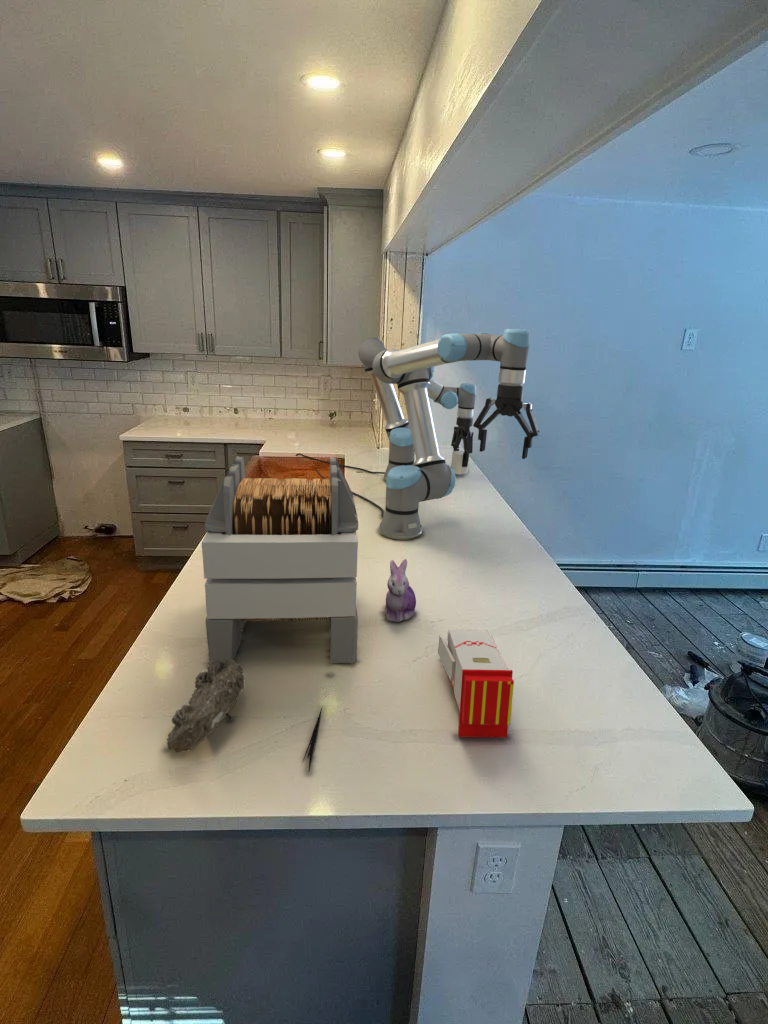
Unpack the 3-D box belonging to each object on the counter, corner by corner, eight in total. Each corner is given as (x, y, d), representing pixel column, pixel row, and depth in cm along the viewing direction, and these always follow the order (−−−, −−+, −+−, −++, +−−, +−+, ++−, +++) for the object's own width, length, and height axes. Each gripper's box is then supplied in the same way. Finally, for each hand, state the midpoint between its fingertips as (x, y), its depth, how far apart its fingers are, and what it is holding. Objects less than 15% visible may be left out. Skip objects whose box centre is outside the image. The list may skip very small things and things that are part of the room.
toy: (488, 613, 130) (523, 677, 101) (484, 667, 133) (517, 744, 104) (435, 612, 130) (455, 676, 101) (432, 666, 133) (451, 743, 103)
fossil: (192, 660, 117) (244, 628, 112) (224, 691, 120) (276, 661, 115) (142, 746, 98) (202, 712, 93) (182, 779, 101) (242, 748, 96)
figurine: (392, 627, 141) (395, 572, 136) (374, 608, 149) (376, 556, 144) (425, 619, 145) (429, 566, 140) (405, 601, 154) (408, 550, 149)
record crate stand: (229, 593, 154) (221, 446, 140) (349, 591, 157) (353, 448, 144) (206, 668, 122) (192, 488, 108) (357, 664, 126) (363, 489, 112)
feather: (331, 679, 122) (336, 673, 122) (307, 777, 96) (313, 769, 95) (324, 675, 122) (329, 669, 121) (298, 772, 95) (304, 764, 95)
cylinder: (470, 473, 273) (472, 454, 270) (457, 474, 269) (459, 455, 266) (460, 469, 280) (462, 450, 276) (447, 470, 276) (449, 451, 272)
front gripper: (556, 387, 164) (546, 458, 171) (476, 378, 176) (470, 445, 183) (549, 389, 158) (539, 463, 165) (466, 380, 170) (460, 450, 177)
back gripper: (484, 421, 258) (478, 469, 266) (460, 413, 276) (455, 458, 283) (470, 421, 255) (464, 470, 263) (446, 413, 273) (442, 459, 280)
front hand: (502, 454), depth 174 cm, fingers open, 13 cm apart
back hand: (459, 464), depth 273 cm, fingers closed on cylinder, 8 cm apart
